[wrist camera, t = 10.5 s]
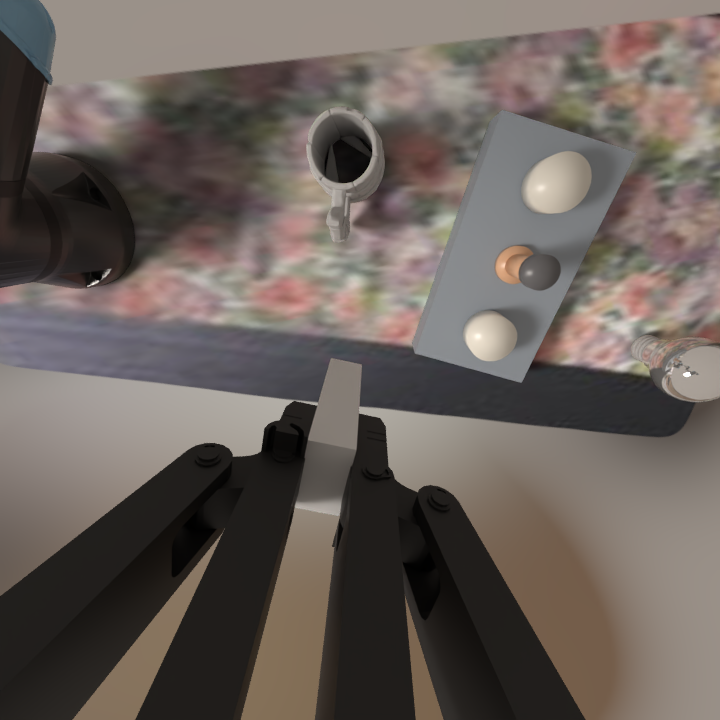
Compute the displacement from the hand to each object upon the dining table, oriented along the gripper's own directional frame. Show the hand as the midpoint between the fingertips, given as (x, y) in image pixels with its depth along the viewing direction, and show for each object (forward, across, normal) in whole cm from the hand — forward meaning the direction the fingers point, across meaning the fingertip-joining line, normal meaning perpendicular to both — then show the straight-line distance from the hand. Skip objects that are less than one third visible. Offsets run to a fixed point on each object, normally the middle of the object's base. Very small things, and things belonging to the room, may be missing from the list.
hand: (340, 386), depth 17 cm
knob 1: (+29, +16, -1) cm, 33 cm away
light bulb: (+29, +37, +1) cm, 47 cm away
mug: (+30, -4, +10) cm, 32 cm away
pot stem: (+25, +16, +7) cm, 30 cm away
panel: (+29, +16, +6) cm, 34 cm away
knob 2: (+29, +17, +15) cm, 36 cm away
